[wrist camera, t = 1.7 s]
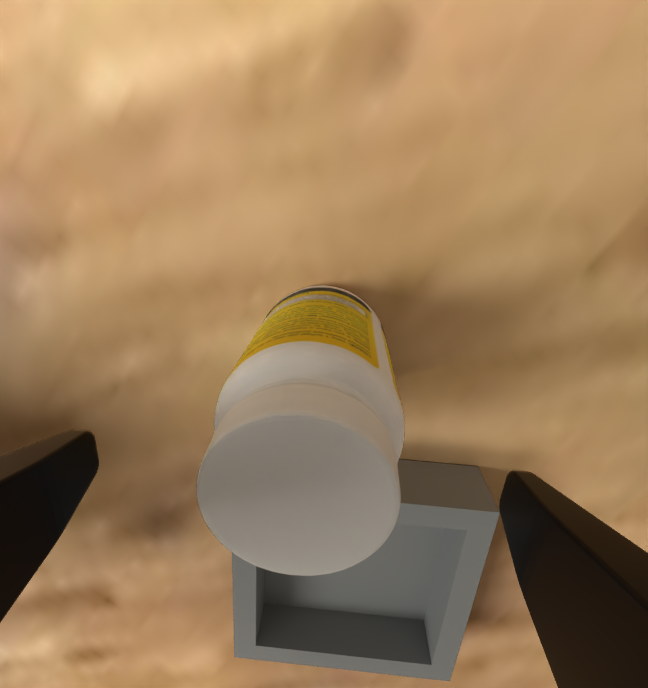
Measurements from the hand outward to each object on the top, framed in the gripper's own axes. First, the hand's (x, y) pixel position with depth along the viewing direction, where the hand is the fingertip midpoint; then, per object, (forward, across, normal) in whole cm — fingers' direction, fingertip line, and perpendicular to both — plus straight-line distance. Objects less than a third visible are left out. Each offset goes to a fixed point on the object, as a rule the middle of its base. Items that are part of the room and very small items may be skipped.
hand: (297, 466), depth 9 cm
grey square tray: (+7, -2, +10) cm, 12 cm away
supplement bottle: (+8, 0, 0) cm, 8 cm away
